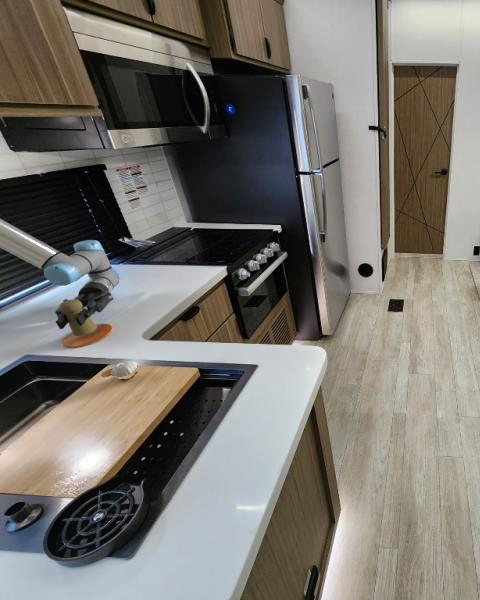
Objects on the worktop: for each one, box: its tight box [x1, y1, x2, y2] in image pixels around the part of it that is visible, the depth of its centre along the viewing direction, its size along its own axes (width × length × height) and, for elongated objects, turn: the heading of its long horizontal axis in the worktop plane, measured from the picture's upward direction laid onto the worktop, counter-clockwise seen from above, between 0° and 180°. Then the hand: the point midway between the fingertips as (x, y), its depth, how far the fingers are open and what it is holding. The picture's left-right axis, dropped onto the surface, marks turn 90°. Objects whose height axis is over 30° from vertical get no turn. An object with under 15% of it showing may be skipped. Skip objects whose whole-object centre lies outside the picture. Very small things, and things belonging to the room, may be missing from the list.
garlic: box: [110, 360, 139, 377], centre depth 91 cm, size 6×5×5 cm
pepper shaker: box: [58, 298, 97, 336], centre depth 106 cm, size 6×6×11 cm
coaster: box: [60, 323, 114, 349], centre depth 109 cm, size 13×13×1 cm
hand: (69, 323), depth 101 cm, fingers closed on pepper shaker, 4 cm apart
